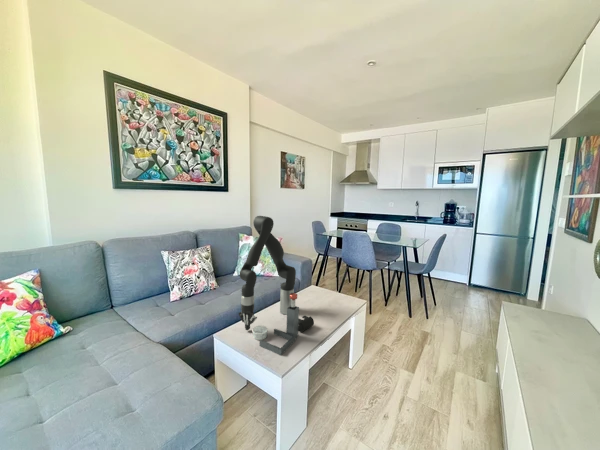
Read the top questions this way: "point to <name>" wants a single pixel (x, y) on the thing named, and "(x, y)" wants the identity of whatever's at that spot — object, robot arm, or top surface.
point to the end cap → (305, 323)
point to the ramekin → (259, 332)
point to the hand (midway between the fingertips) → (247, 329)
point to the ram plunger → (293, 300)
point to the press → (289, 334)
